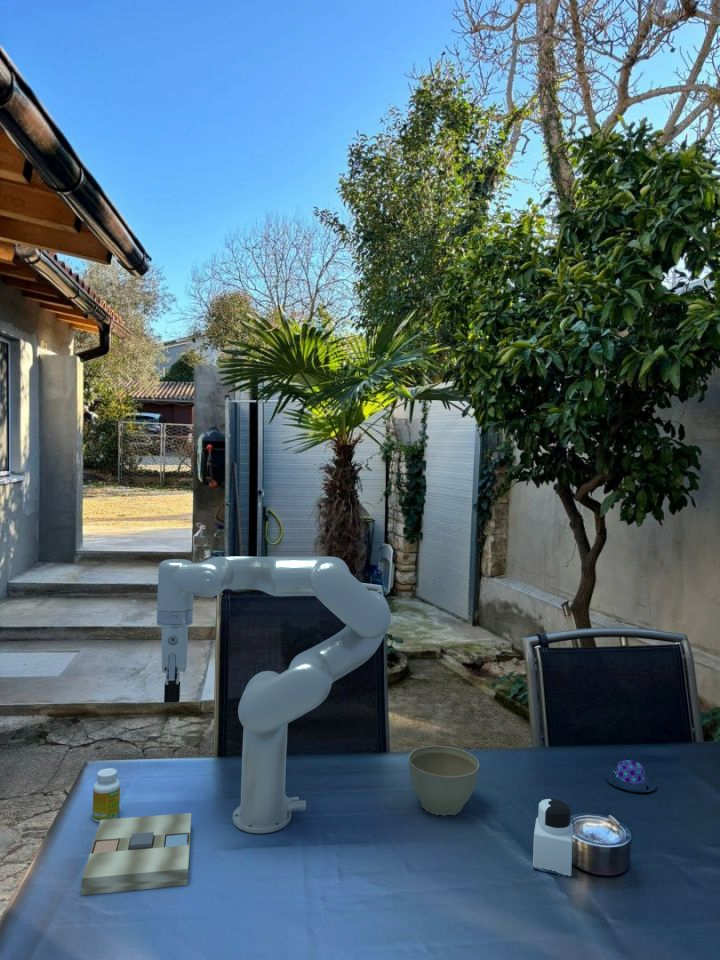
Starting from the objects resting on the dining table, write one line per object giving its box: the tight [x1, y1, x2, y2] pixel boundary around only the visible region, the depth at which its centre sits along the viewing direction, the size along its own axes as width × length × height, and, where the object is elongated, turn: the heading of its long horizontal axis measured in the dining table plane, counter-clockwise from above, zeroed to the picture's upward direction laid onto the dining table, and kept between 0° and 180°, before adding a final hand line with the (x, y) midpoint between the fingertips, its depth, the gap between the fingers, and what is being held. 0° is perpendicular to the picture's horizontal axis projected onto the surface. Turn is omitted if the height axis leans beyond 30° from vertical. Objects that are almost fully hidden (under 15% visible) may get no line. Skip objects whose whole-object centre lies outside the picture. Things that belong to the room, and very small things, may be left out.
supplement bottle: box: [91, 767, 121, 824], centre depth 141 cm, size 5×5×10 cm
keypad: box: [80, 812, 192, 896], centre depth 126 cm, size 18×20×3 cm
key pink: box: [93, 840, 119, 853], centre depth 125 cm, size 4×4×2 cm
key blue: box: [165, 834, 188, 847], centre depth 128 cm, size 4×4×2 cm
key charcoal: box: [130, 832, 154, 850], centre depth 126 cm, size 4×4×2 cm
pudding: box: [614, 759, 647, 784], centre depth 166 cm, size 12×12×5 cm
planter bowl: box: [408, 745, 480, 816], centre depth 150 cm, size 16×16×11 cm
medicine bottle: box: [532, 798, 574, 877], centre depth 129 cm, size 7×7×12 cm
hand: (171, 701), depth 142 cm, fingers closed
